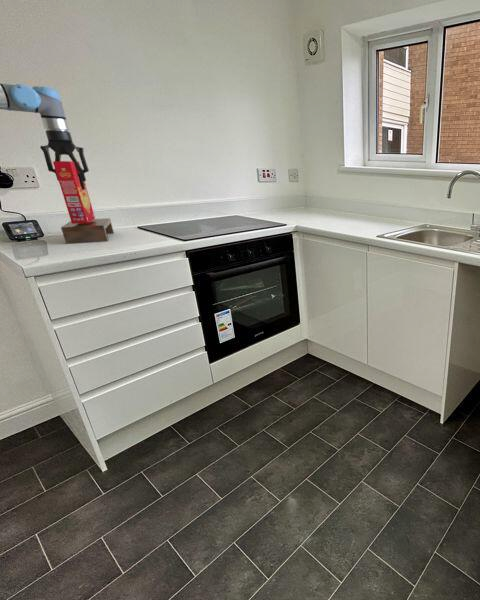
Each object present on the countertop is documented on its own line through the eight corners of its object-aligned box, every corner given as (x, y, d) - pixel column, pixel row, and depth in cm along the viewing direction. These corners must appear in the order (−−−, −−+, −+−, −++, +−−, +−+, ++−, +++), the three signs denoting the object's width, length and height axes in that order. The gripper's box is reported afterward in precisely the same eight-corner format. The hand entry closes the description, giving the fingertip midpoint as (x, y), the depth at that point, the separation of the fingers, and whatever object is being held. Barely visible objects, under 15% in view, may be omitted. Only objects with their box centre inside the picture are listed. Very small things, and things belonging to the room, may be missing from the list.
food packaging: (87, 223, 153) (69, 161, 144) (71, 223, 151) (52, 161, 141) (95, 218, 165) (79, 161, 156) (80, 218, 162) (63, 161, 153)
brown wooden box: (66, 243, 149) (60, 227, 146) (77, 234, 166) (72, 219, 164) (107, 241, 156) (103, 225, 153) (114, 232, 173) (110, 218, 171)
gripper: (88, 132, 152) (102, 188, 160) (29, 129, 143) (48, 188, 151) (84, 131, 146) (100, 189, 154) (23, 128, 137) (43, 190, 145)
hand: (74, 189), depth 153 cm, fingers closed on food packaging, 5 cm apart
